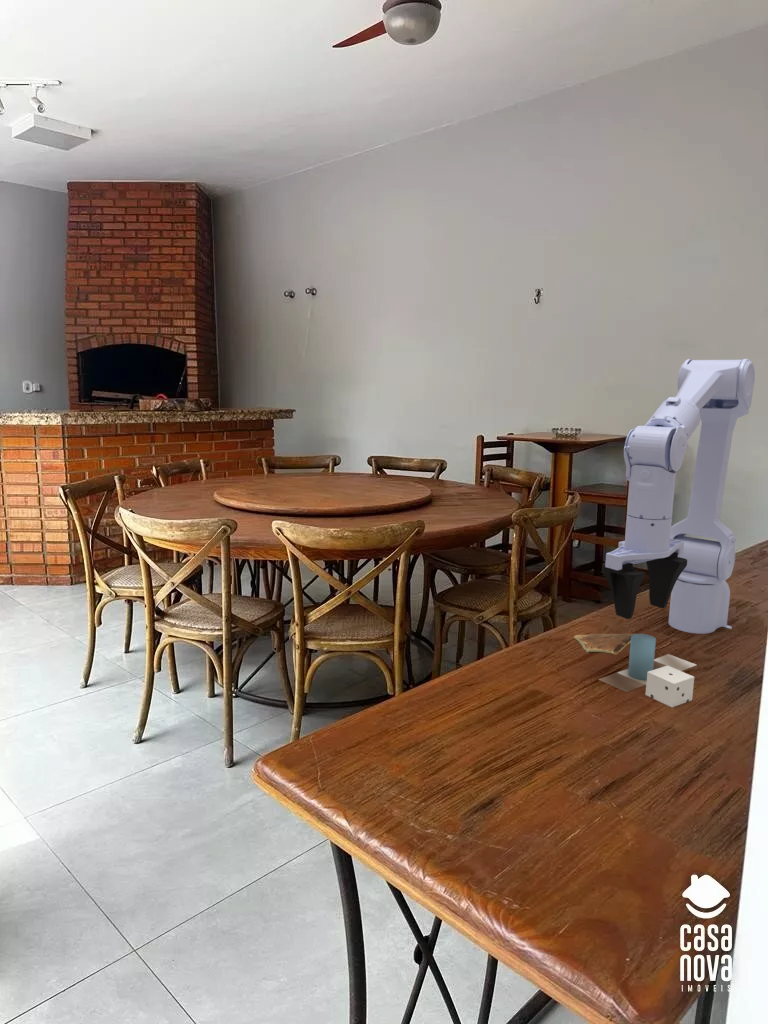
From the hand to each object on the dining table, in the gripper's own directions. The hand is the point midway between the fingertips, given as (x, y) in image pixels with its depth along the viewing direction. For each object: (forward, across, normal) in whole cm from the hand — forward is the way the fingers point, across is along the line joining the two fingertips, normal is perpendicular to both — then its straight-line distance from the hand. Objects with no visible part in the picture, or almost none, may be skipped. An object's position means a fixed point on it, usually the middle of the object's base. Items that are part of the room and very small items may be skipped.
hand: (641, 611), depth 95 cm
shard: (+10, -5, -10) cm, 15 cm away
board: (+10, -1, +1) cm, 10 cm away
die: (+10, +4, +8) cm, 13 cm away
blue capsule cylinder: (+9, +1, +1) cm, 9 cm away
